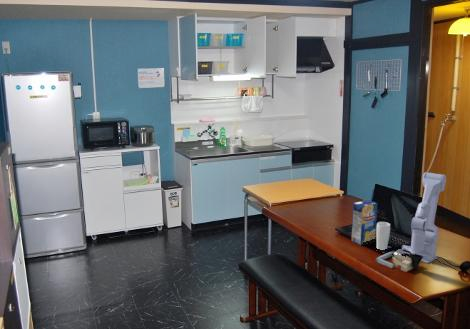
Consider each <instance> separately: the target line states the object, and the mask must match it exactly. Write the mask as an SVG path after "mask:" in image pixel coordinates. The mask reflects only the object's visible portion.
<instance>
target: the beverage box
mask: <svg viewBox="0 0 470 329" xmlns="http://www.w3.org/2000/svg"><path fill="white" fill-rule="evenodd" d="M352 207H353V209H352V224H351V225H352V226H351V227H352V228H351V242H353V243H355V244H357V245H359V246H363V245H364V244H363V242H366V241H370V240H372V239H375V240H376V227H377V216H378V214H377V213H378V202H375V201H372V200H370V199H366V200H362V201H357V202H353V206H352ZM362 244H363V245H362Z"/></svg>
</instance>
